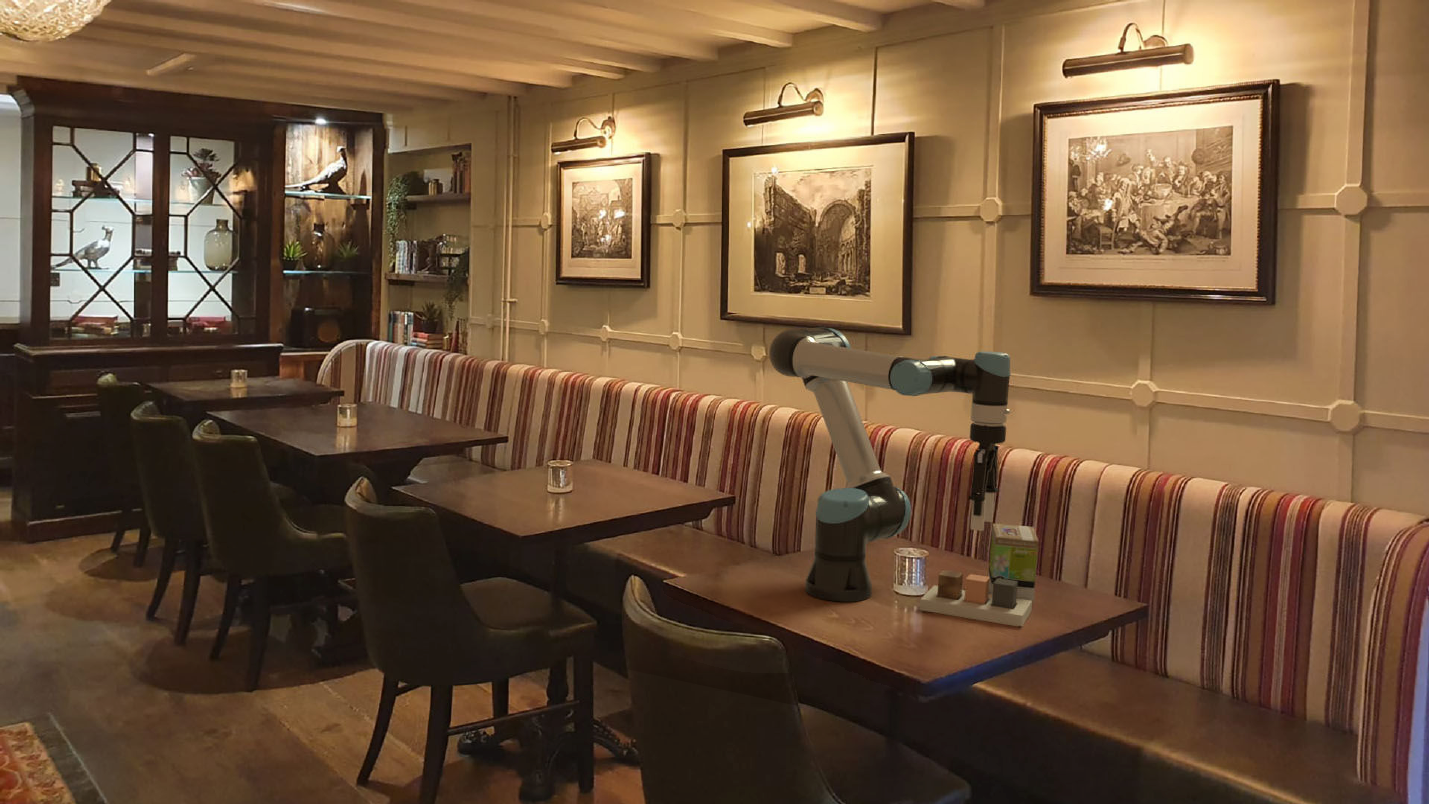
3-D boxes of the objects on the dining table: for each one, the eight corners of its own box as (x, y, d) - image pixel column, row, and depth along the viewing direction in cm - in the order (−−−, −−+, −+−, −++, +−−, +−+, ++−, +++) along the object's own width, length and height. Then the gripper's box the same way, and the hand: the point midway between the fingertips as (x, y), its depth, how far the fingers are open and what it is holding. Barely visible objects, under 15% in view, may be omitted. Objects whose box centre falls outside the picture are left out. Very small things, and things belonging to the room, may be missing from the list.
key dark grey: (991, 605, 241) (993, 583, 240) (995, 600, 245) (997, 578, 244) (1012, 608, 239) (1014, 586, 239) (1016, 603, 243) (1017, 581, 242)
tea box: (1034, 603, 252) (1039, 540, 250) (989, 599, 254) (993, 536, 252) (1029, 585, 267) (1034, 525, 265) (987, 581, 269) (991, 521, 267)
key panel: (919, 610, 244) (920, 599, 244) (933, 595, 255) (934, 585, 255) (1021, 627, 235) (1022, 615, 235) (1031, 611, 246) (1032, 600, 245)
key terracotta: (964, 600, 244) (965, 578, 243) (968, 595, 248) (970, 574, 247) (984, 604, 242) (985, 582, 241) (988, 598, 246) (990, 577, 245)
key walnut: (937, 596, 246) (938, 574, 245) (942, 591, 250) (943, 570, 249) (957, 599, 244) (958, 577, 244) (961, 594, 248) (963, 573, 248)
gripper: (996, 431, 228) (988, 538, 231) (1015, 419, 248) (1008, 518, 251) (959, 427, 231) (953, 533, 234) (981, 416, 251) (974, 513, 254)
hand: (981, 525), depth 242 cm, fingers open, 9 cm apart
